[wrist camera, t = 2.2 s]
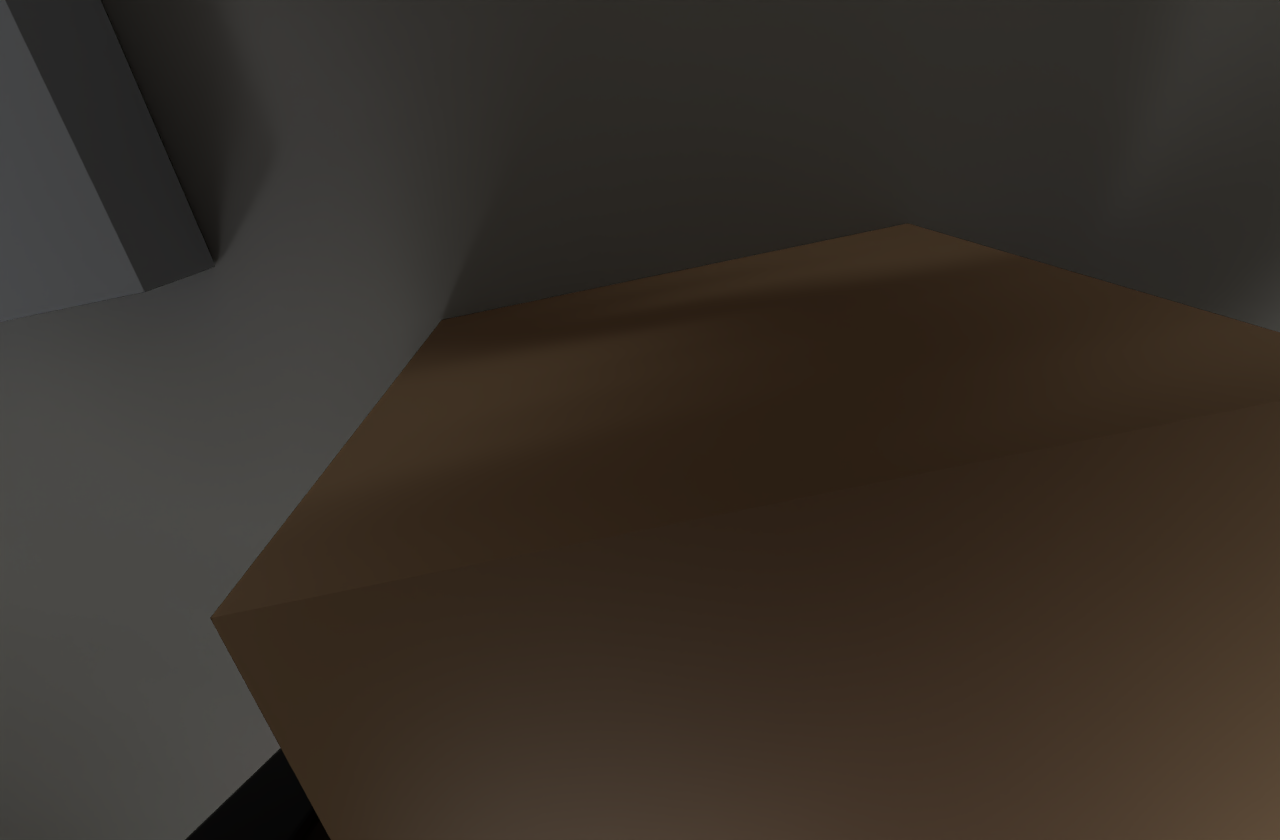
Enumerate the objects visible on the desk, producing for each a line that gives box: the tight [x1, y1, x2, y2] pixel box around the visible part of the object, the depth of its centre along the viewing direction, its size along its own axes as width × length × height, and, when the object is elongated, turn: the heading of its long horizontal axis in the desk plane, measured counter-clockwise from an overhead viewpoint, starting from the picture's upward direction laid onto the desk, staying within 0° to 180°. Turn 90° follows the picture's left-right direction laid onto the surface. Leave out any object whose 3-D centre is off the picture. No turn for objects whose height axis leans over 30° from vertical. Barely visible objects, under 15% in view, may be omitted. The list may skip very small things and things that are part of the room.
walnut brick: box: [211, 223, 1280, 840], centre depth 7 cm, size 5×7×5 cm
